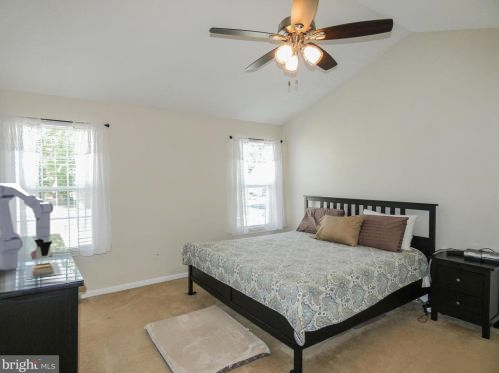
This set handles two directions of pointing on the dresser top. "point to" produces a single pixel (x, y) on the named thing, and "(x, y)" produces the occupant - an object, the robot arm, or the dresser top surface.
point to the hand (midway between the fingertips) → (43, 254)
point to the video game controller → (33, 255)
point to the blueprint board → (30, 274)
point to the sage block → (39, 255)
